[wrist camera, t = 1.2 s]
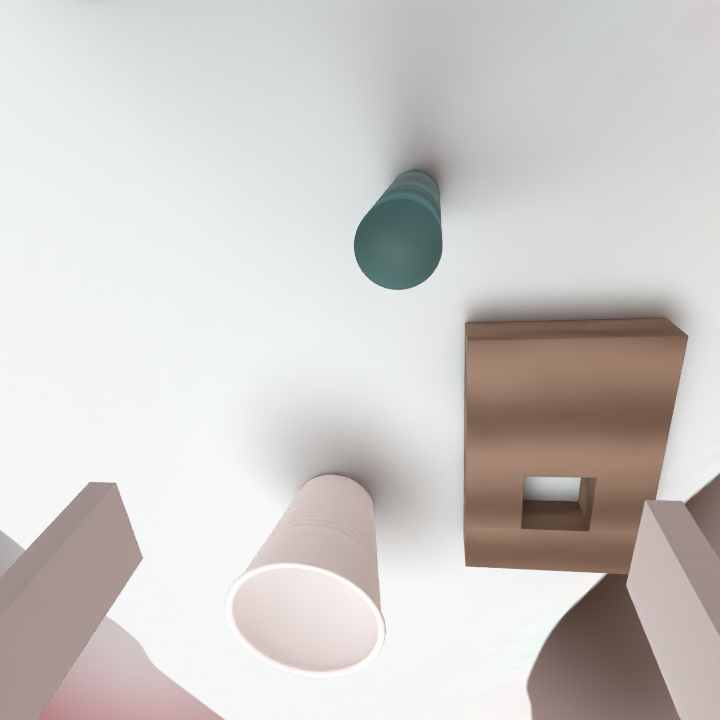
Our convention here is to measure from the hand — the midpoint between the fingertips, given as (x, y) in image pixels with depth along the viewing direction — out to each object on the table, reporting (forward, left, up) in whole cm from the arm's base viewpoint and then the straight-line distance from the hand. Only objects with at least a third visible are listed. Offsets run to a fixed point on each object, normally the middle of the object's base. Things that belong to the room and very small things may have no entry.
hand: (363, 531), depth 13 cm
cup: (+17, -6, -22) cm, 28 cm away
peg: (-6, +1, -21) cm, 22 cm away
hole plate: (+11, +10, -21) cm, 26 cm away
